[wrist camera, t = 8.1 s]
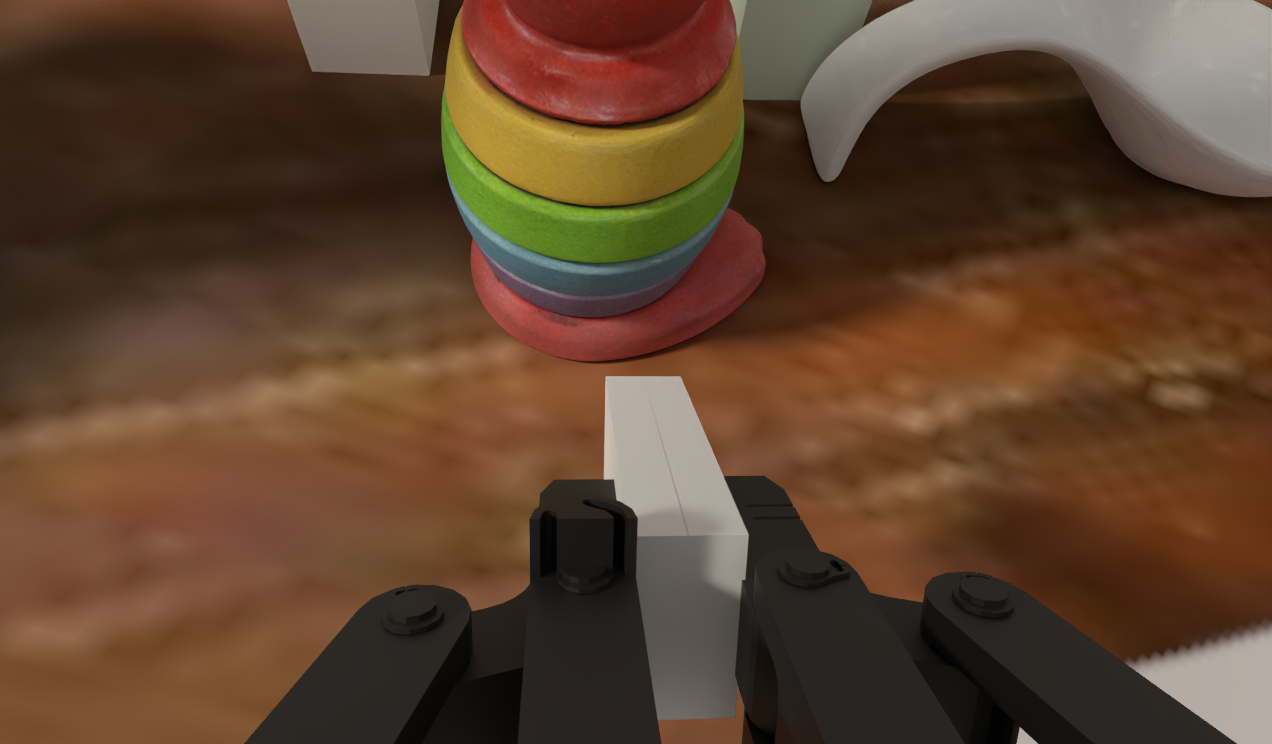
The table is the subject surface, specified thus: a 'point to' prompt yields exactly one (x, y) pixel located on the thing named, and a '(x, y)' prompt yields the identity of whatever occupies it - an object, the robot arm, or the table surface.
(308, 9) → the off-white block
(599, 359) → the stacking bear
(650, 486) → the robot arm
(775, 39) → the sage-green block
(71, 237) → the table surface
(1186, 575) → the table surface
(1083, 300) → the table surface
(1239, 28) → the spoon rest
